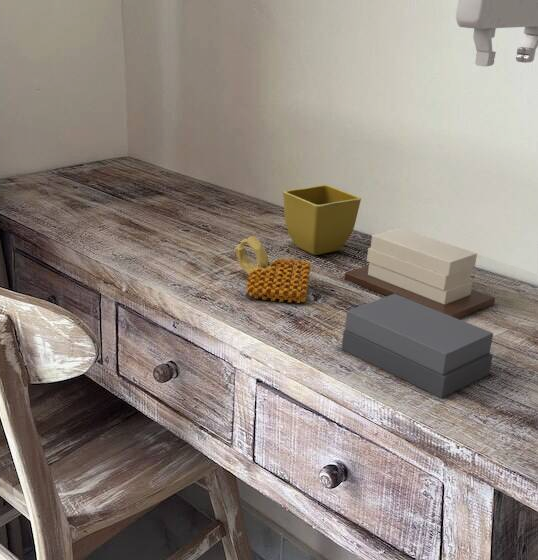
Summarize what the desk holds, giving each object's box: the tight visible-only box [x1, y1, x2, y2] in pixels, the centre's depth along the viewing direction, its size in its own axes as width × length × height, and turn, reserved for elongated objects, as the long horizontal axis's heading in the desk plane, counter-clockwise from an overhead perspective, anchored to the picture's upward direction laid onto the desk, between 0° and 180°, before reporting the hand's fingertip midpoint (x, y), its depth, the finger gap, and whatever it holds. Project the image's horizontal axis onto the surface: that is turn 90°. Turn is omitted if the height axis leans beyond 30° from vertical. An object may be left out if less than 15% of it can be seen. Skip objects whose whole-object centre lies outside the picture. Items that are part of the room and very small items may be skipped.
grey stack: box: [341, 294, 494, 399], centre depth 92 cm, size 14×9×5 cm, turn 40°
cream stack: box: [344, 247, 496, 320], centre depth 112 cm, size 18×10×5 cm, turn 40°
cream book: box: [370, 227, 478, 276], centre depth 111 cm, size 13×6×2 cm, turn 40°
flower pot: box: [282, 184, 362, 256], centre depth 126 cm, size 9×9×9 cm
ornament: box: [234, 235, 312, 304], centre depth 112 cm, size 7×10×15 cm
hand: (504, 63), depth 105 cm, fingers open, 8 cm apart
